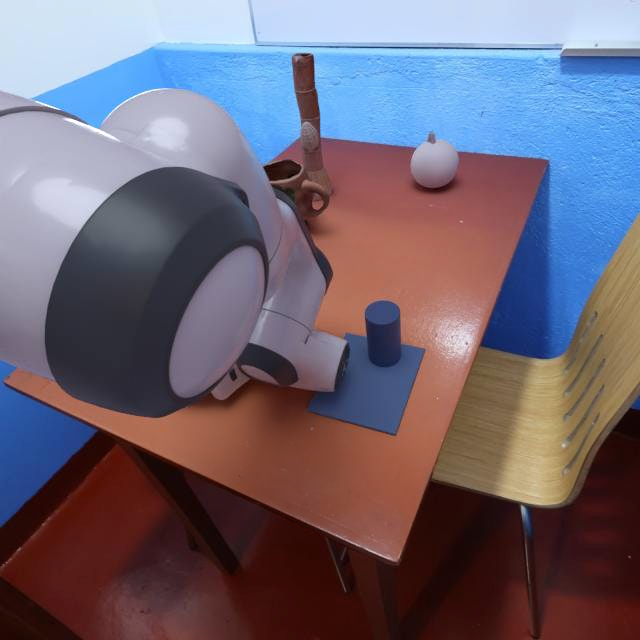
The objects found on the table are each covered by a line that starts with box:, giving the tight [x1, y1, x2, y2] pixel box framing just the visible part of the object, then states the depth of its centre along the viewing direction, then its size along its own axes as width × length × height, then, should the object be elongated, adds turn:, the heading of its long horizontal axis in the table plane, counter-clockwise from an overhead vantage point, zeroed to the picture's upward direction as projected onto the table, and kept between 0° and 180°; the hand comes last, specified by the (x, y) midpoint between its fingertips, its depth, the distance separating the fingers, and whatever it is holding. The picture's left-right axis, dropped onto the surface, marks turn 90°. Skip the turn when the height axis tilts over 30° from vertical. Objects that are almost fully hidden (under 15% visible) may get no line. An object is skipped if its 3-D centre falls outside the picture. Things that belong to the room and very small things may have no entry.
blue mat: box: [306, 332, 426, 437], centre depth 69 cm, size 16×13×1 cm
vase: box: [291, 52, 333, 202], centre depth 104 cm, size 11×7×30 cm
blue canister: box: [364, 299, 402, 367], centre depth 69 cm, size 5×5×9 cm
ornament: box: [410, 132, 460, 189], centre depth 105 cm, size 10×10×12 cm
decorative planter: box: [262, 158, 331, 227], centre depth 98 cm, size 20×12×14 cm, turn 68°
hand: (172, 327), depth 76 cm, fingers closed on pill bottle, 5 cm apart
